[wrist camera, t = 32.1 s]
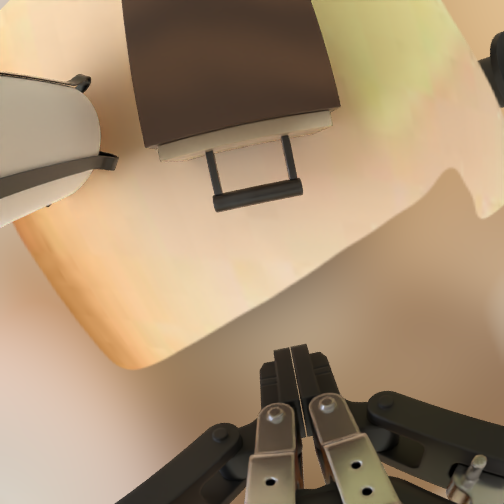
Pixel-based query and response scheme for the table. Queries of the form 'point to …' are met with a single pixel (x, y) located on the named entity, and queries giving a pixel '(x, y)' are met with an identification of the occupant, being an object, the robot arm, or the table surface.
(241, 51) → the cabinet
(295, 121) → the drawer
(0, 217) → the coffee press
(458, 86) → the table surface
